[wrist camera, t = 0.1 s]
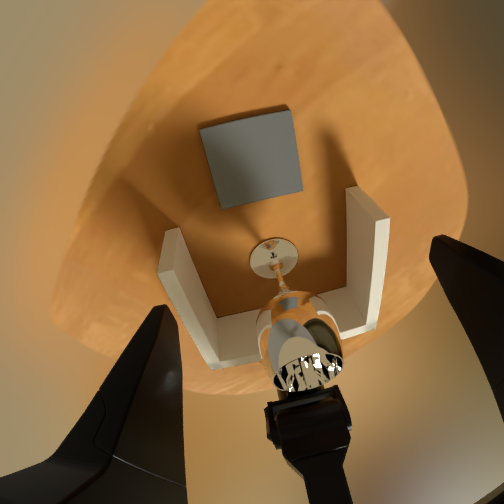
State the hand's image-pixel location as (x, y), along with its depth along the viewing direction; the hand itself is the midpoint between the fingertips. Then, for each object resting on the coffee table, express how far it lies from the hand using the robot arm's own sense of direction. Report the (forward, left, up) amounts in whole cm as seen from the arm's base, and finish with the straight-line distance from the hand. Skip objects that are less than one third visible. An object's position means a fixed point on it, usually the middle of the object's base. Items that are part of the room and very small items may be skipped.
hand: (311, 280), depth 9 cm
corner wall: (-11, 0, -14) cm, 18 cm away
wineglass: (-10, 0, -15) cm, 18 cm away
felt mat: (-1, 0, -14) cm, 15 cm away
